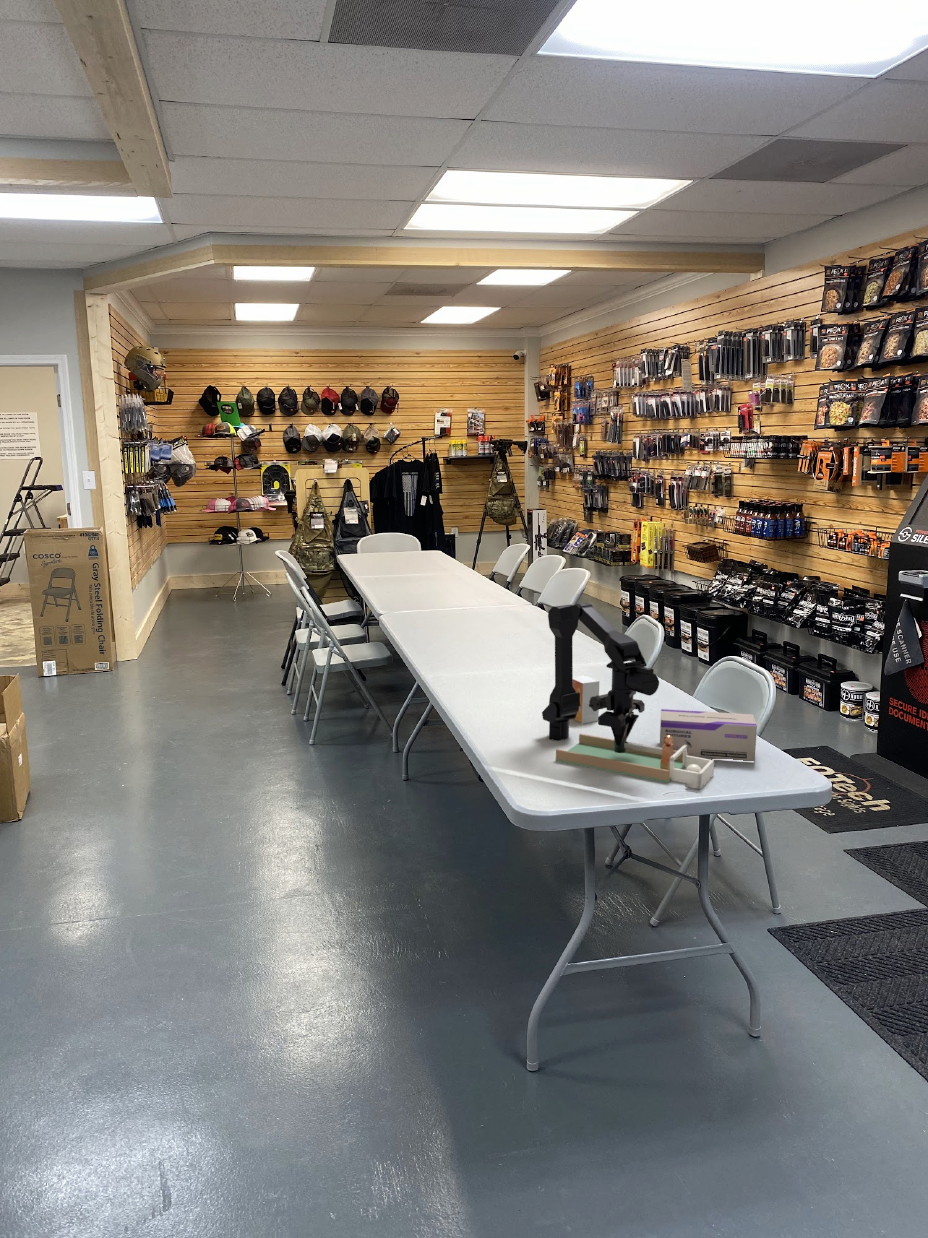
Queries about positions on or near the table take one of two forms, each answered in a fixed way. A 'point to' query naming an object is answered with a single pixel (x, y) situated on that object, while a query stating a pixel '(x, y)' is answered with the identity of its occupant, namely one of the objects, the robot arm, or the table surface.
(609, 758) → the pitch
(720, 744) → the surgical sutures box
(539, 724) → the table surface
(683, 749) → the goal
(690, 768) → the ball
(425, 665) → the table surface
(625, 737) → the rod
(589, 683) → the small box
